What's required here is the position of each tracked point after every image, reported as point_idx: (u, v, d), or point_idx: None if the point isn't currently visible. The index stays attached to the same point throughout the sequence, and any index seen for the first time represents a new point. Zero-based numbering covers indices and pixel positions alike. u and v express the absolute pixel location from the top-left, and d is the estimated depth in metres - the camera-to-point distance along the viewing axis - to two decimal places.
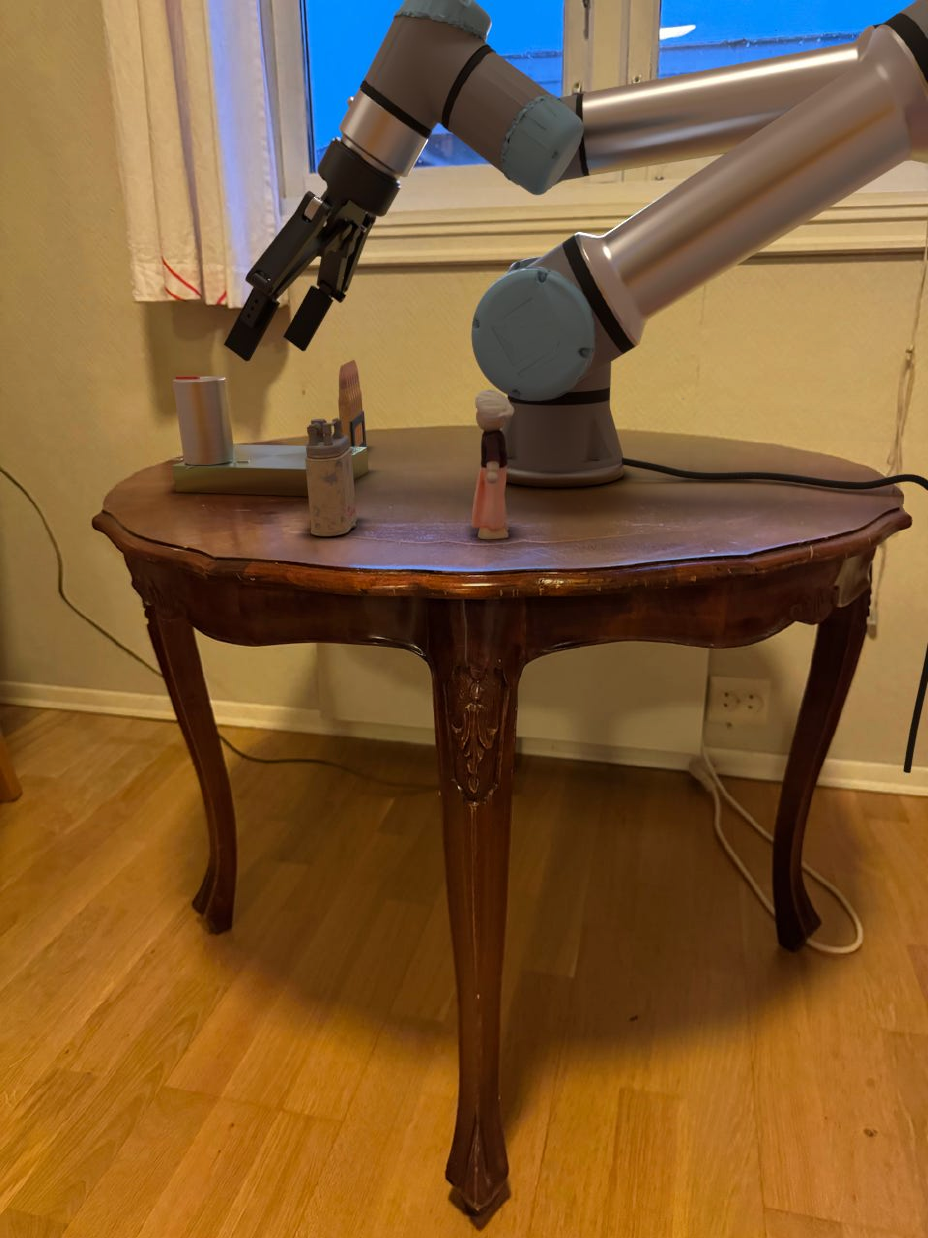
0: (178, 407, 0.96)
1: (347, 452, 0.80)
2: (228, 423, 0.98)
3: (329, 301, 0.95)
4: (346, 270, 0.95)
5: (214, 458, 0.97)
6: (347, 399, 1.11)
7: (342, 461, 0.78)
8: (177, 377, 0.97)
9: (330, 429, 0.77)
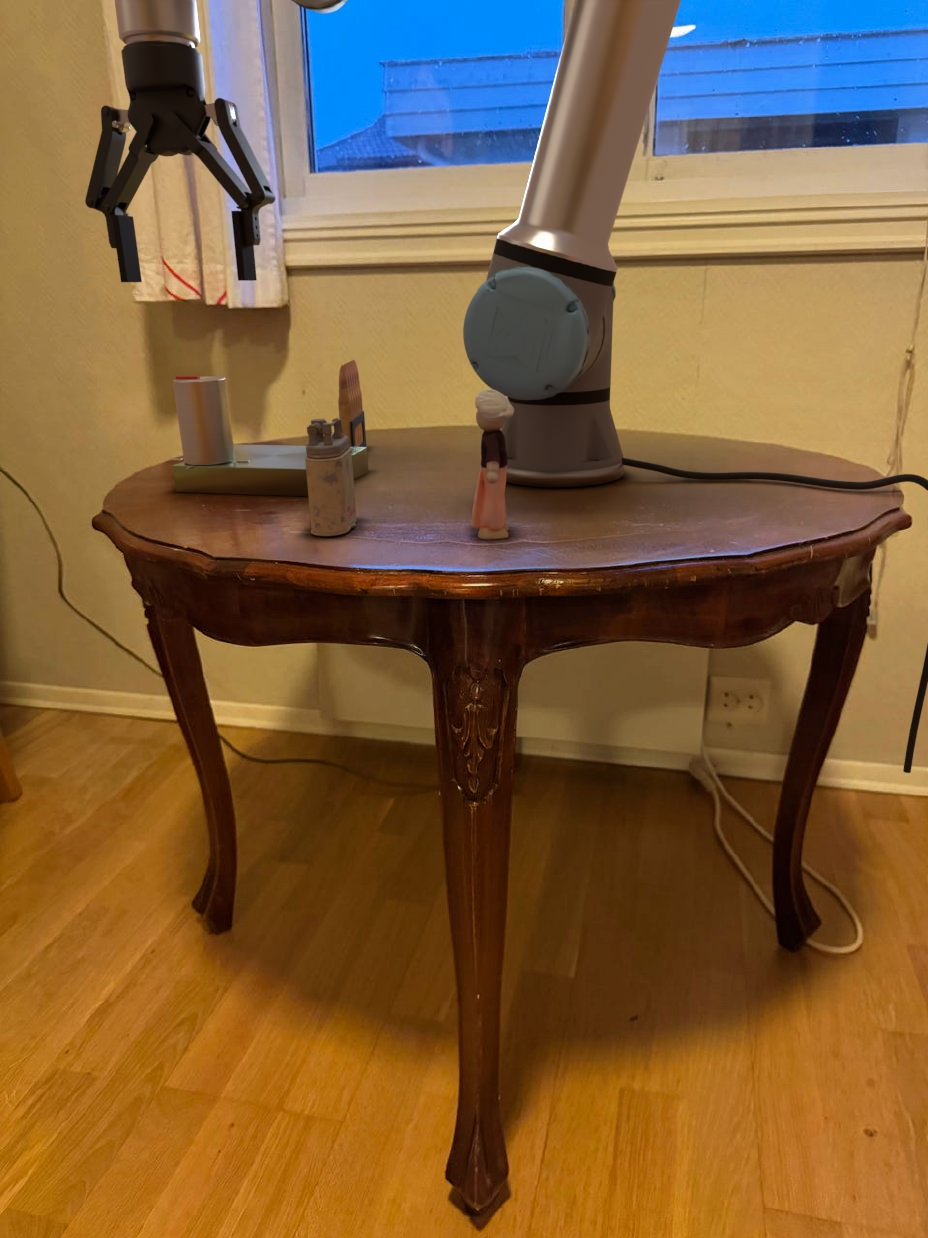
0: (178, 407, 0.96)
1: (347, 452, 0.80)
2: (228, 423, 0.98)
3: (232, 213, 0.88)
4: None
5: (214, 458, 0.97)
6: (347, 399, 1.11)
7: (342, 461, 0.78)
8: (177, 377, 0.97)
9: (330, 429, 0.77)
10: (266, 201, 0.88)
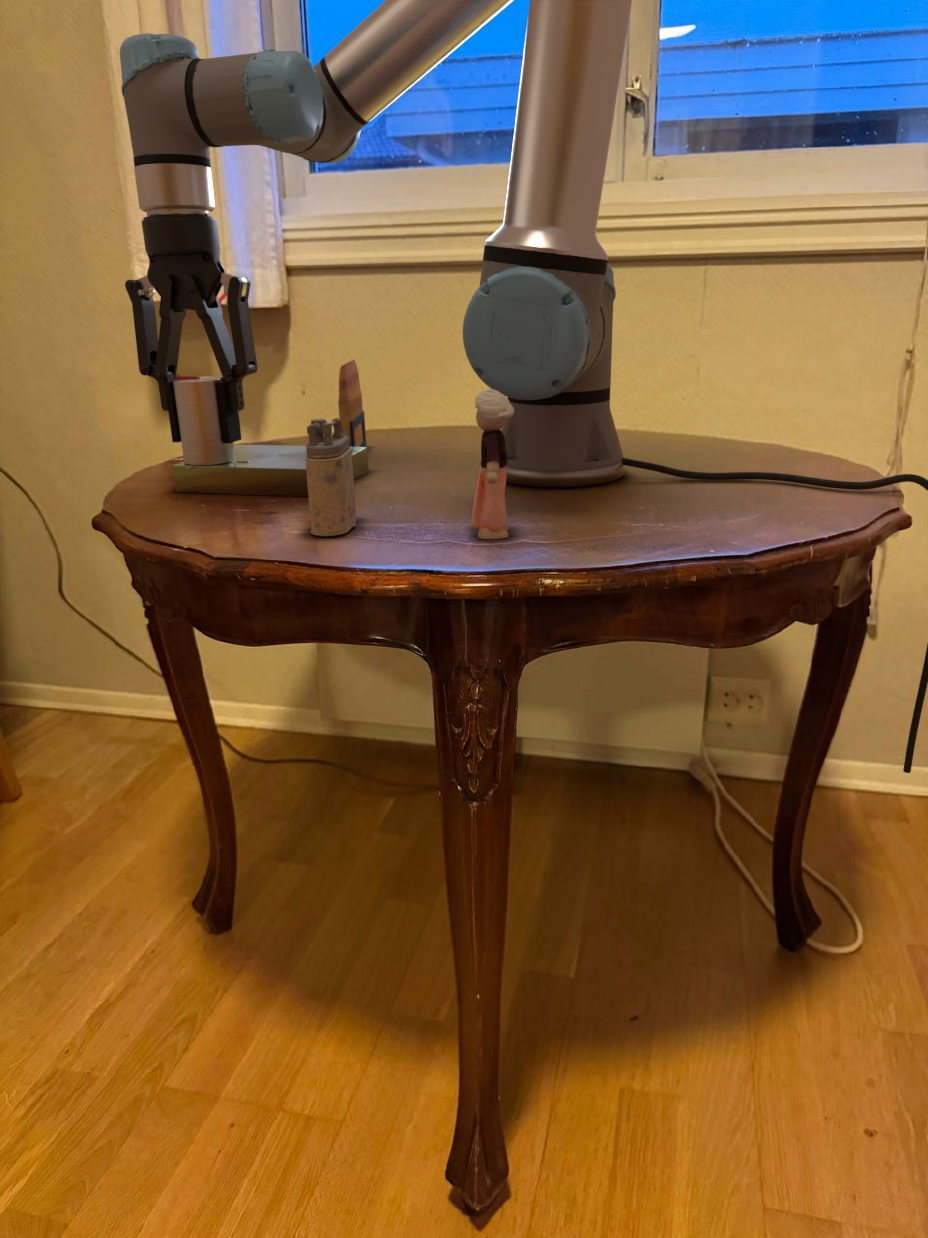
0: (178, 407, 0.96)
1: (347, 452, 0.80)
2: None
3: (217, 384, 0.95)
4: None
5: (214, 458, 0.97)
6: (347, 399, 1.11)
7: (342, 461, 0.78)
8: (177, 377, 0.97)
9: (330, 429, 0.77)
10: (249, 373, 0.94)
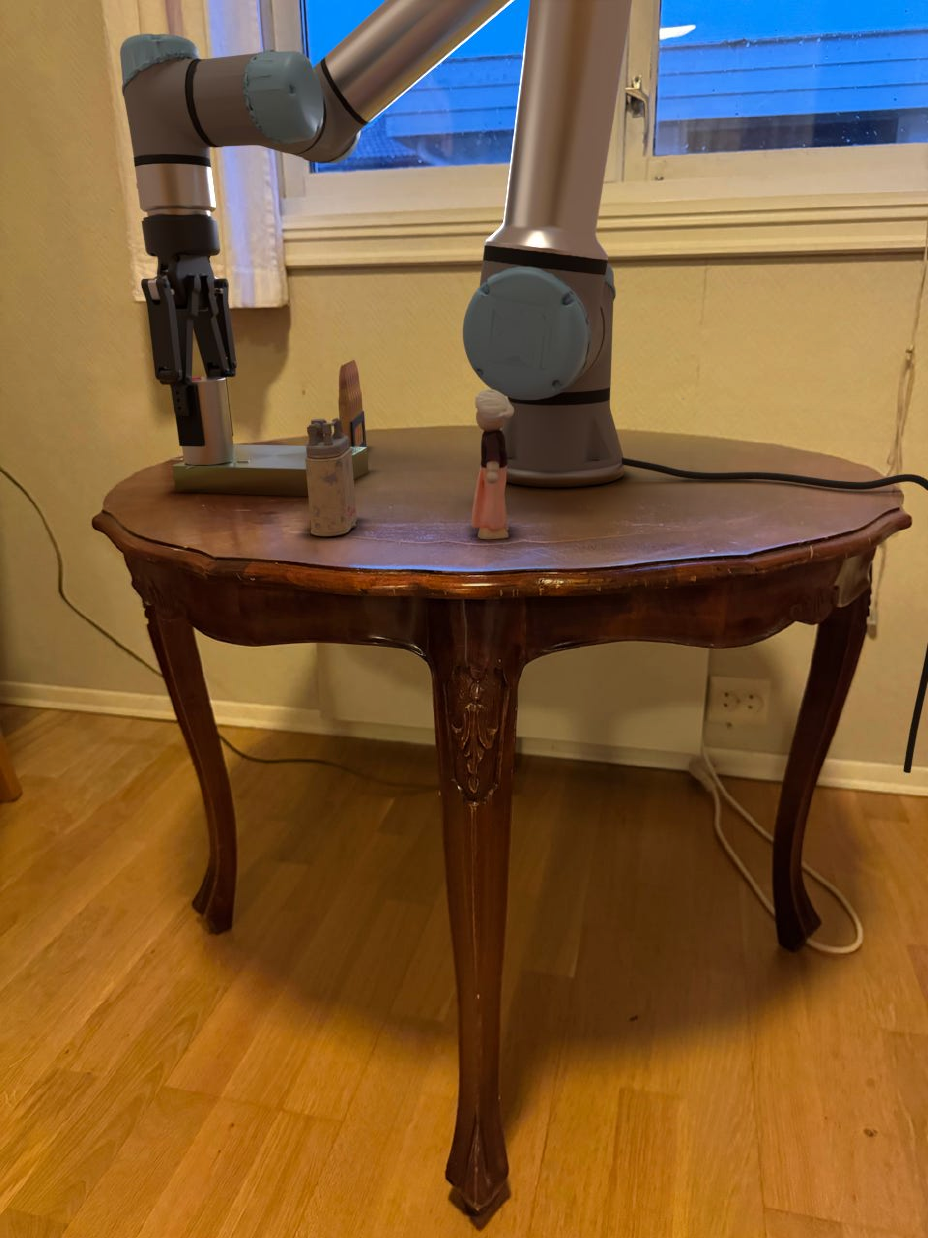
0: (213, 407, 0.95)
1: (347, 452, 0.80)
2: None
3: None
4: (225, 342, 1.00)
5: None
6: (347, 399, 1.11)
7: (342, 461, 0.78)
8: None
9: (330, 429, 0.77)
10: None
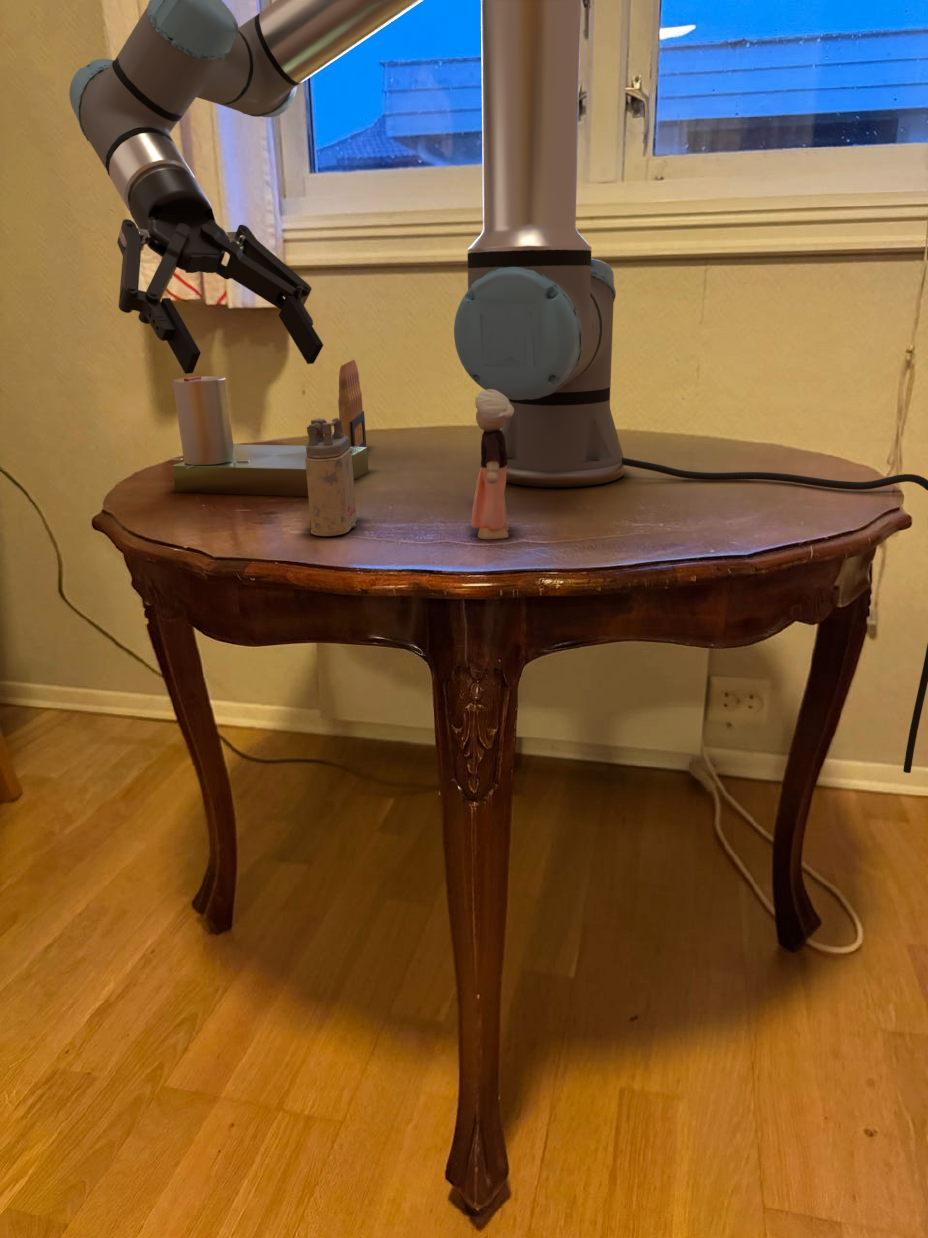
0: (213, 407, 0.95)
1: (347, 452, 0.80)
2: None
3: (288, 298, 0.89)
4: (282, 275, 0.91)
5: None
6: (347, 399, 1.11)
7: (342, 461, 0.78)
8: (189, 379, 0.94)
9: (330, 429, 0.77)
10: None
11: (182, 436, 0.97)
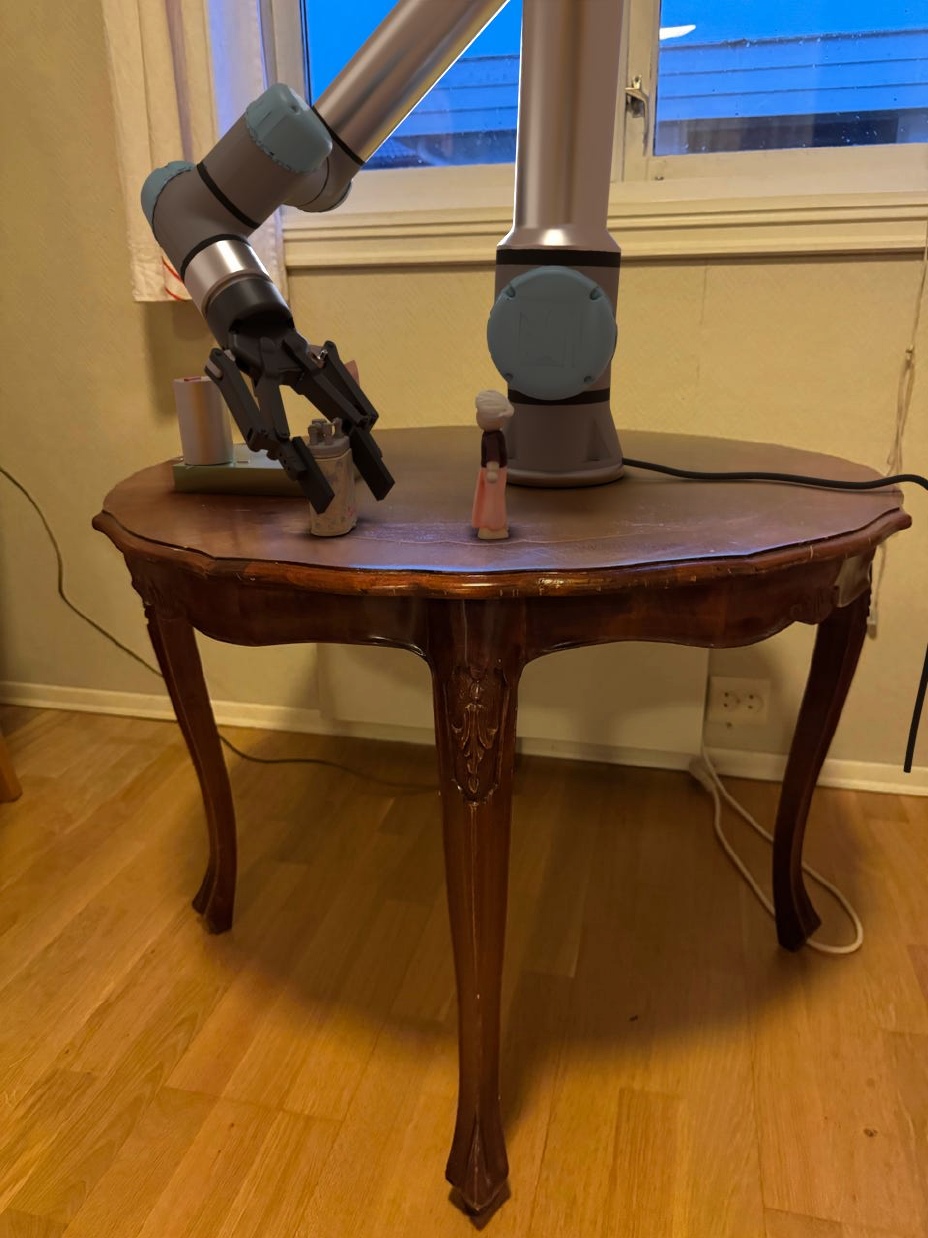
0: (213, 407, 0.95)
1: (347, 452, 0.80)
2: None
3: (355, 430, 0.81)
4: (352, 397, 0.84)
5: None
6: None
7: (343, 461, 0.78)
8: (189, 379, 0.94)
9: (331, 429, 0.77)
10: None
11: (182, 436, 0.97)
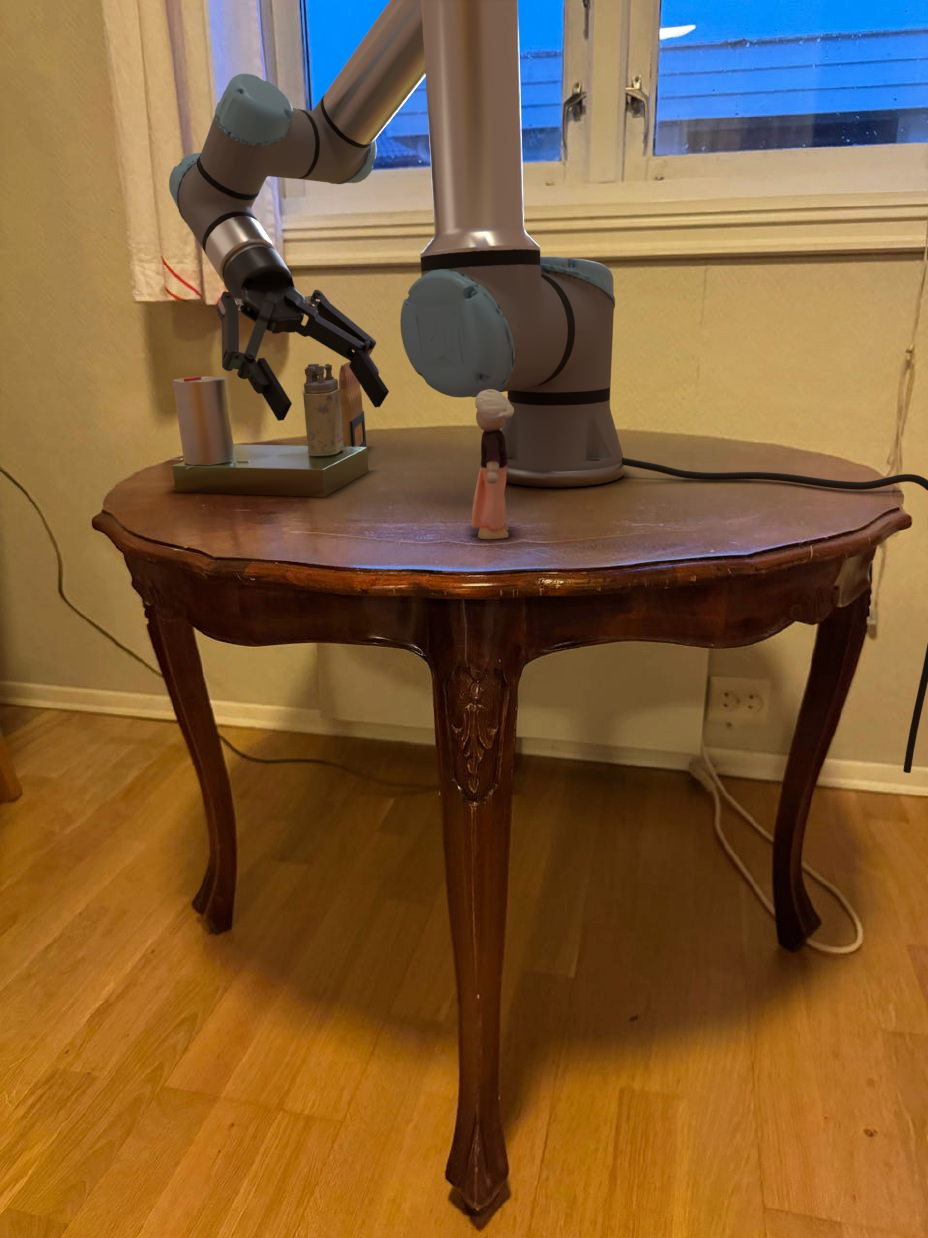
0: (213, 407, 0.95)
1: (336, 390, 1.01)
2: None
3: (358, 352, 1.04)
4: (352, 332, 1.07)
5: None
6: (347, 399, 1.11)
7: (332, 396, 0.99)
8: (189, 379, 0.94)
9: (323, 370, 0.98)
10: None
11: (182, 436, 0.97)
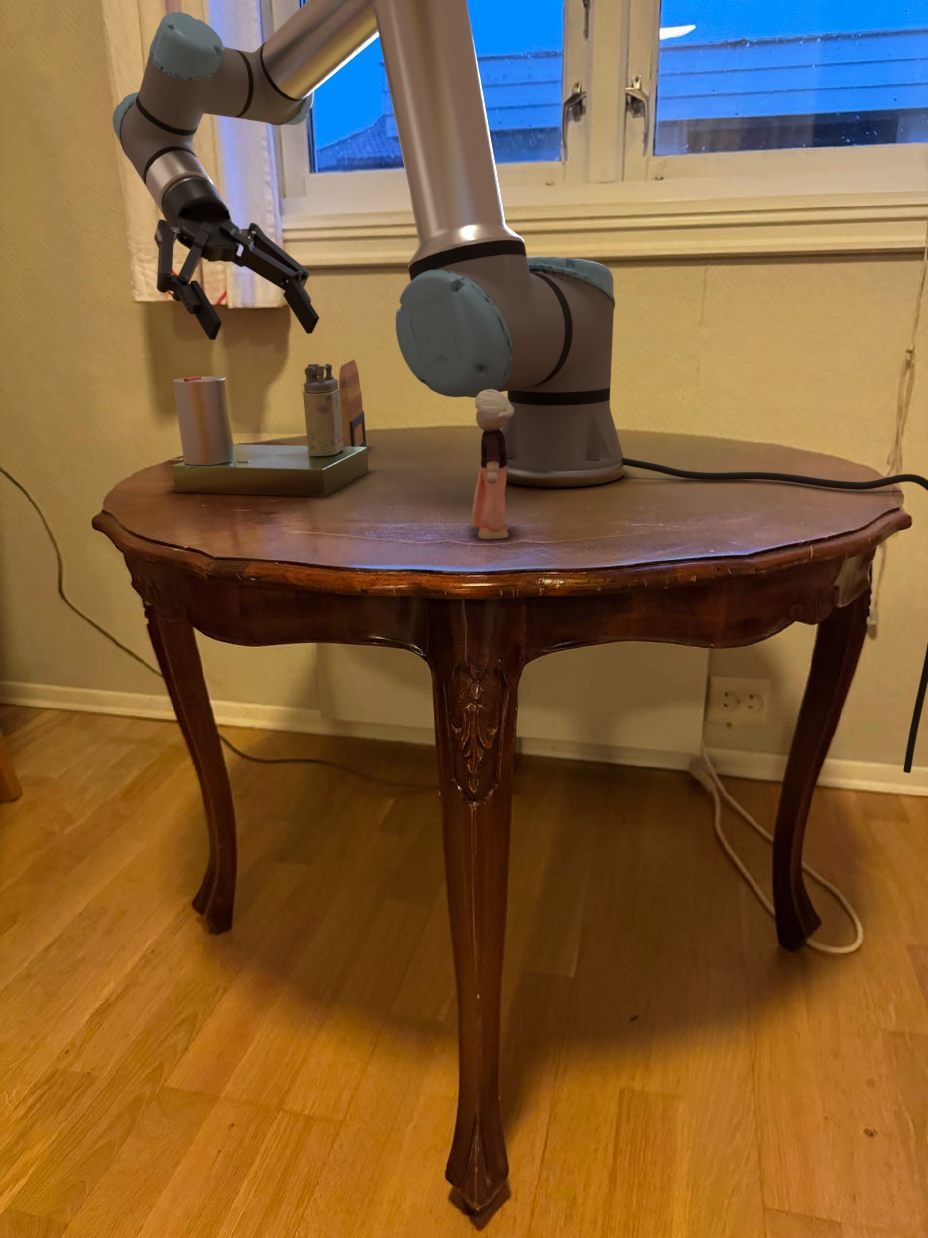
0: (213, 407, 0.95)
1: (336, 390, 1.01)
2: None
3: (290, 280, 1.10)
4: (286, 263, 1.12)
5: None
6: (347, 399, 1.11)
7: (332, 396, 0.99)
8: (189, 379, 0.94)
9: (323, 370, 0.98)
10: (306, 280, 1.13)
11: (182, 436, 0.97)
